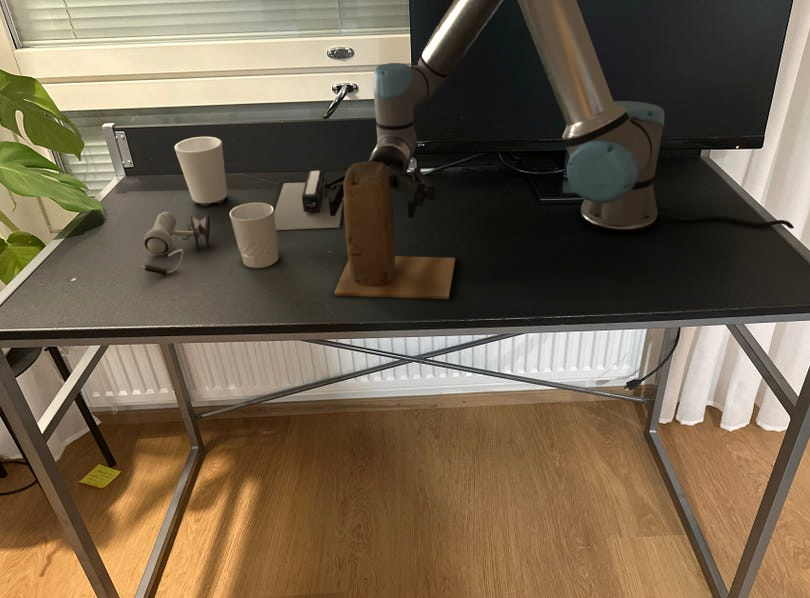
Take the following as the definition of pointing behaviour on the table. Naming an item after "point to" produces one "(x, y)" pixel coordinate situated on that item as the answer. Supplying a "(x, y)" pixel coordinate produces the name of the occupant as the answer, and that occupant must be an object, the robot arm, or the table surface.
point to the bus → (305, 205)
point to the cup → (203, 169)
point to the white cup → (255, 234)
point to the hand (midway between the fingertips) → (370, 209)
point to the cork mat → (406, 280)
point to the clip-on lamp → (161, 238)
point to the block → (369, 223)
